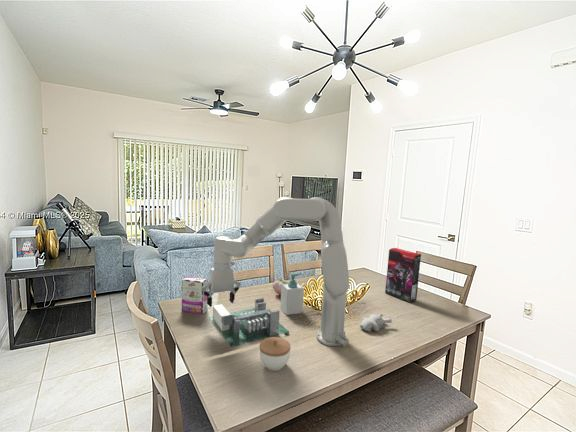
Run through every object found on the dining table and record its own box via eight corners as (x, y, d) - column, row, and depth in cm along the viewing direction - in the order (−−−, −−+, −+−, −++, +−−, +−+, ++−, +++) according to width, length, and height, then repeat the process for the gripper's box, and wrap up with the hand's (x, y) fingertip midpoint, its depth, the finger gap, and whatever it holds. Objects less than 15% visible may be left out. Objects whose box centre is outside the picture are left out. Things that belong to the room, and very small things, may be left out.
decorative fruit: (291, 295, 171) (292, 277, 170) (284, 299, 164) (284, 281, 163) (278, 291, 176) (278, 274, 174) (269, 295, 169) (270, 278, 168)
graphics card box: (383, 293, 181) (388, 248, 177) (390, 291, 185) (395, 247, 181) (410, 303, 167) (415, 255, 164) (417, 300, 171) (422, 253, 168)
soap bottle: (303, 313, 149) (305, 275, 146) (286, 315, 146) (288, 276, 143) (296, 305, 157) (298, 270, 154) (280, 307, 154) (281, 271, 151)
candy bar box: (207, 311, 145) (208, 278, 143) (202, 316, 140) (203, 282, 138) (187, 308, 148) (187, 275, 146) (181, 312, 143) (181, 279, 141)
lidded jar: (288, 356, 112) (290, 332, 111) (289, 375, 101) (291, 349, 100) (259, 356, 112) (260, 332, 110) (257, 374, 101) (258, 348, 100)
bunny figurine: (355, 318, 137) (378, 308, 145) (355, 328, 138) (378, 318, 146) (371, 327, 130) (394, 316, 137) (371, 338, 130) (394, 326, 138)
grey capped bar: (272, 315, 130) (272, 310, 130) (224, 326, 119) (224, 320, 119) (268, 312, 133) (268, 306, 133) (221, 322, 122) (221, 316, 122)
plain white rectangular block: (231, 328, 128) (231, 315, 127) (221, 331, 126) (222, 317, 125) (221, 316, 139) (221, 304, 138) (212, 318, 136) (212, 305, 136)
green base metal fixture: (289, 333, 128) (290, 309, 127) (230, 349, 115) (231, 322, 113) (260, 308, 151) (261, 287, 150) (209, 319, 138) (209, 296, 136)
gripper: (238, 261, 137) (236, 297, 139) (199, 264, 128) (198, 303, 130) (244, 266, 130) (242, 304, 133) (204, 270, 121) (203, 310, 124)
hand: (220, 303), depth 131 cm, fingers open, 9 cm apart
